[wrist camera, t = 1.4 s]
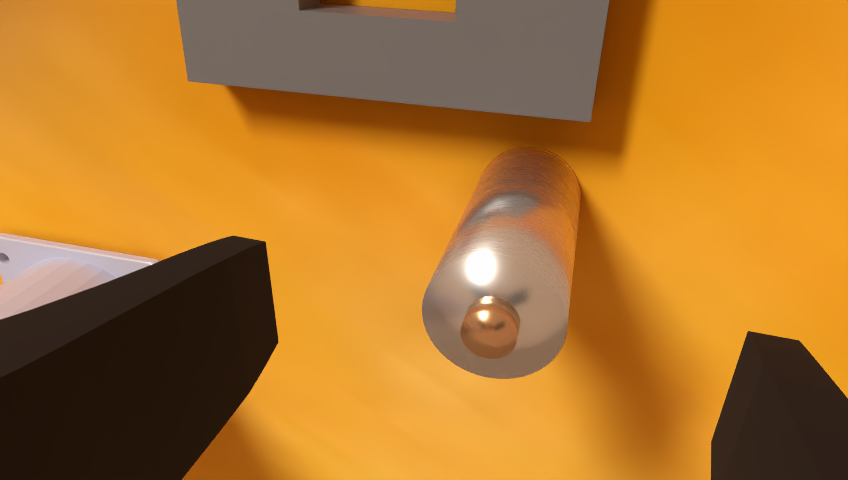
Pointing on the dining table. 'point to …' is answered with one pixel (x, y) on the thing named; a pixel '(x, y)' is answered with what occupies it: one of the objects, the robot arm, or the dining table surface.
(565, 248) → the battery cell
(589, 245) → the dining table surface
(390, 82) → the block
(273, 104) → the dining table surface
